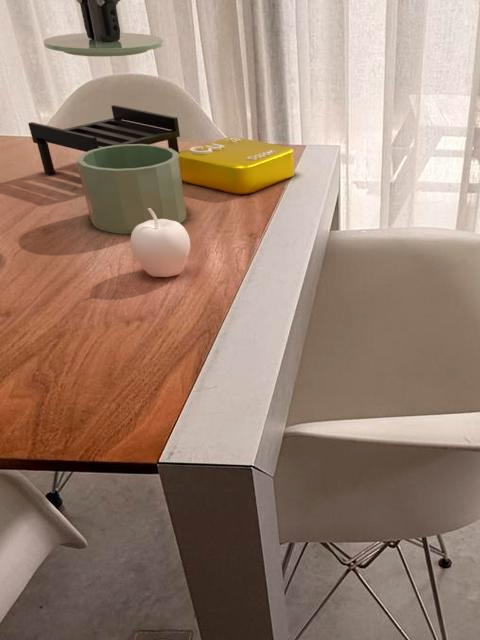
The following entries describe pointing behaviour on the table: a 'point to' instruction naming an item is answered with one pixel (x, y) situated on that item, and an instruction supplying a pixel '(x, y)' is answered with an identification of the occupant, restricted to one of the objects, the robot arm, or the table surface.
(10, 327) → the table surface
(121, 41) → the lid
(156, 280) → the table surface
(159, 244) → the apple
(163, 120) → the rack
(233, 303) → the table surface
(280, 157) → the element tile
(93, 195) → the pot
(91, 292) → the table surface
